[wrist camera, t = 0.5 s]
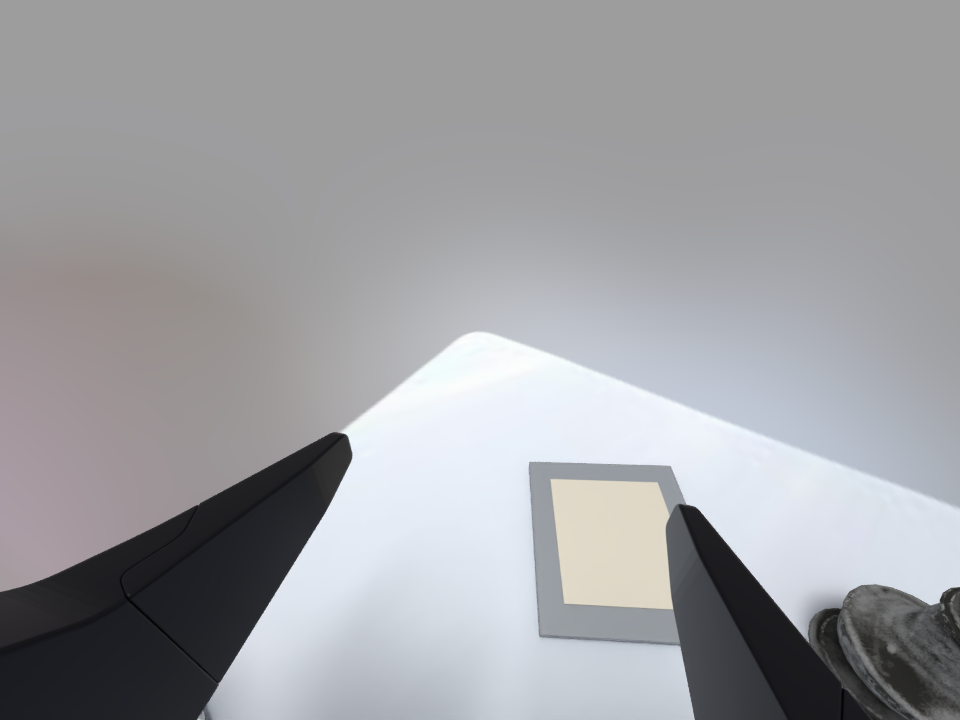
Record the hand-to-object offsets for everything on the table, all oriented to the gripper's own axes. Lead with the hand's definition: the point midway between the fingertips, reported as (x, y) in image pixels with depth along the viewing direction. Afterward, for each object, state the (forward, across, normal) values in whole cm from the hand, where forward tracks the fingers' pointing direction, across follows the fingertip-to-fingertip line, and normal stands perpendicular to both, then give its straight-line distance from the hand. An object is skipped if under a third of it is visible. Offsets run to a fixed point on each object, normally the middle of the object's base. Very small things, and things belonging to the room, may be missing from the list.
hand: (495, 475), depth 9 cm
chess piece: (+6, -20, +16) cm, 26 cm away
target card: (+9, -7, +15) cm, 19 cm away
